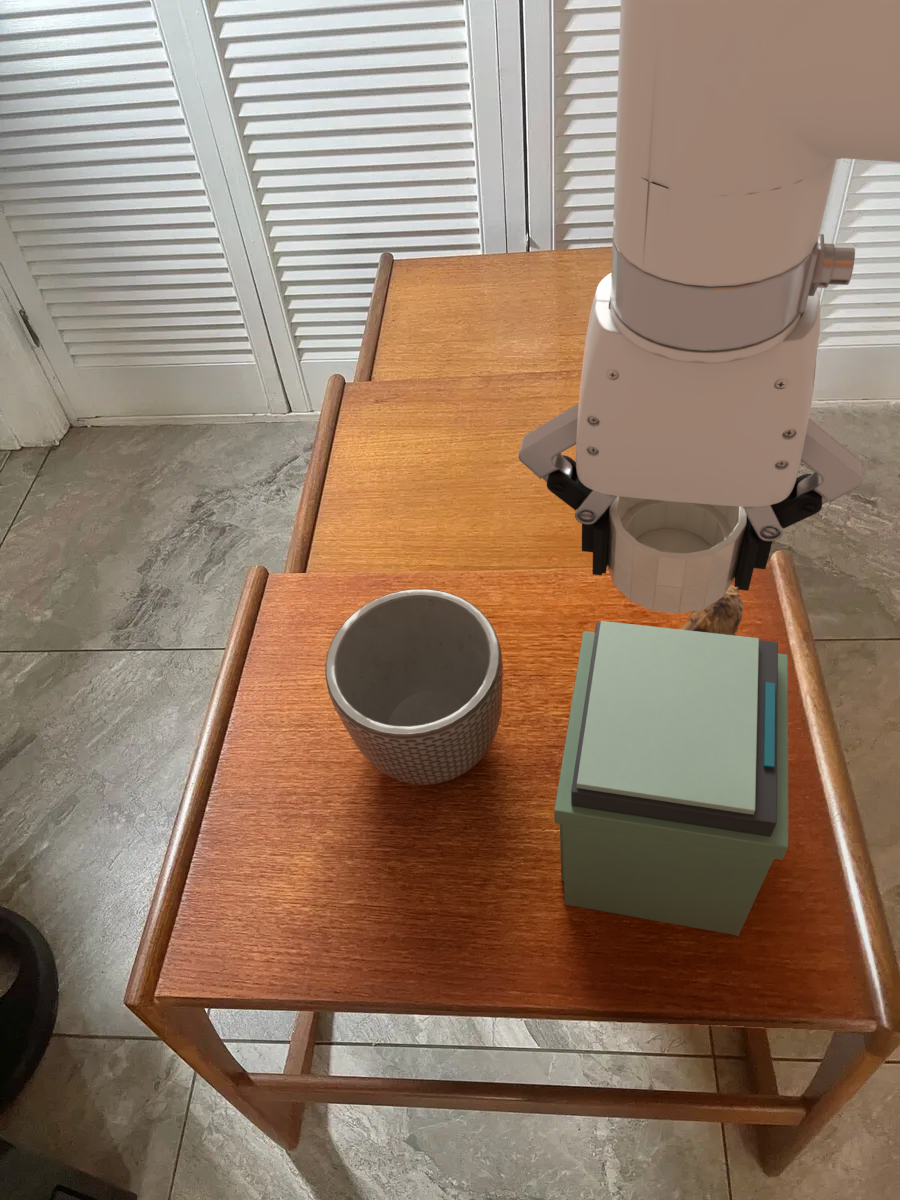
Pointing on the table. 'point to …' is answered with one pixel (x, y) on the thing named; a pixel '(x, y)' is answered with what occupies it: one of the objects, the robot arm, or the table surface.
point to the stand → (664, 845)
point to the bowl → (673, 552)
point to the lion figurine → (718, 615)
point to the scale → (680, 728)
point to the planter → (418, 684)
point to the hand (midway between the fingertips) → (671, 561)
